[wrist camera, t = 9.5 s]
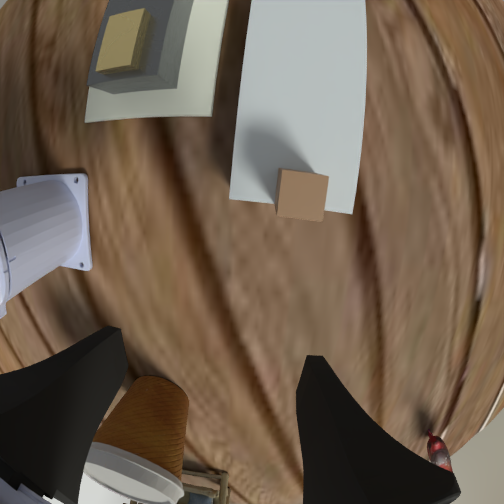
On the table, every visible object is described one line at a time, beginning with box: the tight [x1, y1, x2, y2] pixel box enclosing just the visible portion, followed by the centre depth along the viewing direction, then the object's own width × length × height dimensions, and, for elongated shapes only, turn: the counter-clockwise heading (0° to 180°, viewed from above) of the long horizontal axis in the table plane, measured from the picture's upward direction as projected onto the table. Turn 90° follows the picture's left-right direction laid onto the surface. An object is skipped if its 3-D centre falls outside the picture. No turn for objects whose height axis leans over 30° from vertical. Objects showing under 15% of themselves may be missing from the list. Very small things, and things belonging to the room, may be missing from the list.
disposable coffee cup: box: [83, 376, 189, 504], centre depth 19 cm, size 10×10×12 cm
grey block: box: [87, 0, 194, 94], centre depth 12 cm, size 5×8×4 cm, turn 174°
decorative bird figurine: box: [427, 429, 453, 472], centre depth 22 cm, size 3×18×10 cm, turn 35°
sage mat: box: [85, 0, 229, 123], centre depth 14 cm, size 10×12×1 cm
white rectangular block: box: [229, 0, 367, 222], centre depth 12 cm, size 7×16×6 cm, turn 174°
